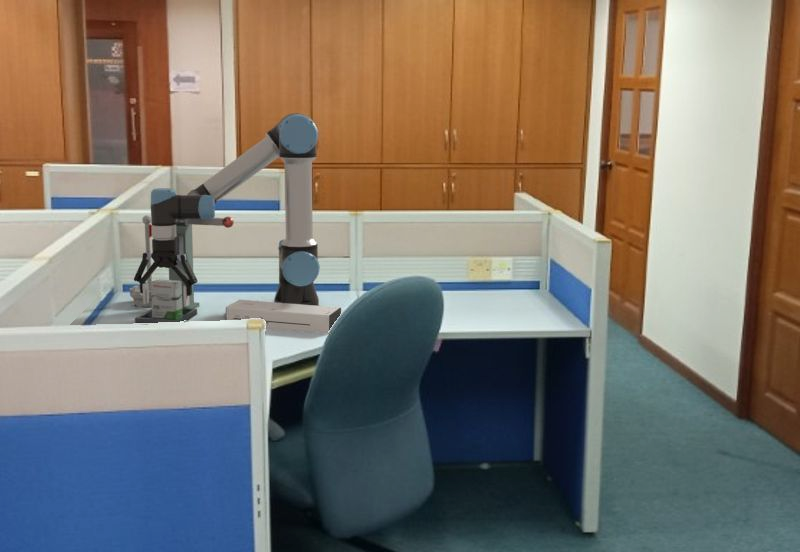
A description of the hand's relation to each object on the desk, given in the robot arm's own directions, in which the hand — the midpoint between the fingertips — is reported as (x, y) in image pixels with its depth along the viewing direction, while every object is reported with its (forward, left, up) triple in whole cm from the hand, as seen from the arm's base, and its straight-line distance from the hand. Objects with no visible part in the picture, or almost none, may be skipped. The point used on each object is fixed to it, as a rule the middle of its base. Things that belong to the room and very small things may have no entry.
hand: (166, 304), depth 293 cm
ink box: (0, 0, -4) cm, 4 cm away
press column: (+1, -14, -5) cm, 14 cm away
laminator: (-38, -2, -5) cm, 39 cm away
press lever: (-7, -15, +23) cm, 28 cm away
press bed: (0, 0, -5) cm, 5 cm away
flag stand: (+14, -19, -5) cm, 24 cm away
